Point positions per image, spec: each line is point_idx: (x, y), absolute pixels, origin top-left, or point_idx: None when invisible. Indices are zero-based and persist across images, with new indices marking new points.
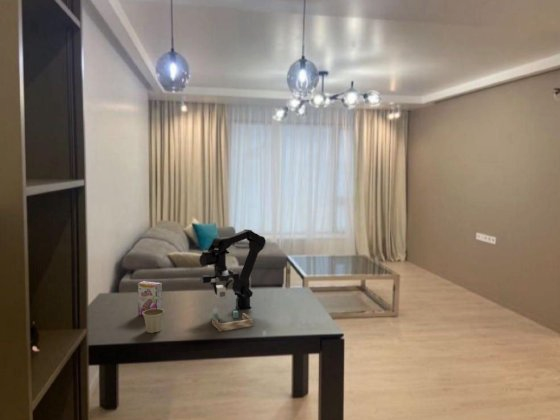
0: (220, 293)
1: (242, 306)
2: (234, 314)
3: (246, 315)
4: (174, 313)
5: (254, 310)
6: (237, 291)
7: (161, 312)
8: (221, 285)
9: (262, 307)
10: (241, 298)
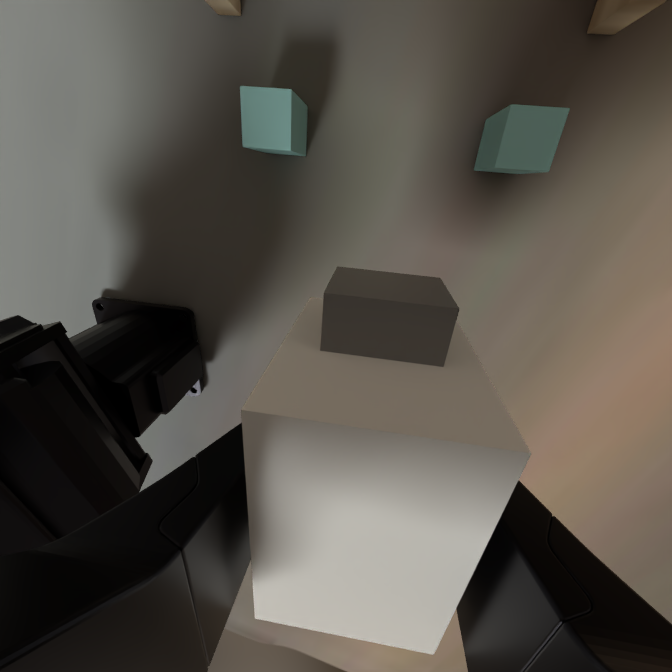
0: (455, 304)
1: (156, 325)
2: (296, 97)
3: None
4: (653, 486)
5: (80, 233)
6: (83, 425)
7: None
8: (290, 594)
9: (10, 269)
10: (110, 365)
